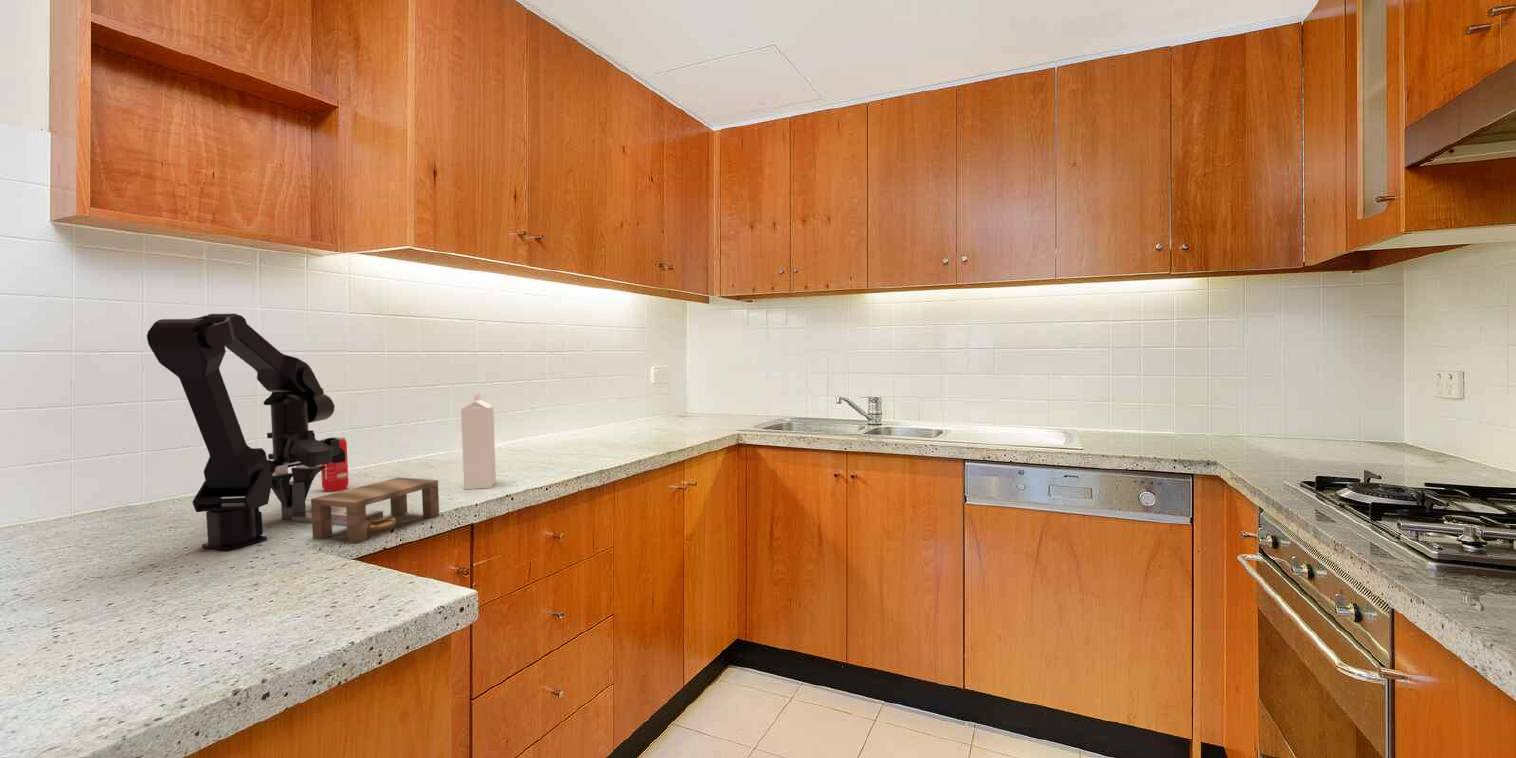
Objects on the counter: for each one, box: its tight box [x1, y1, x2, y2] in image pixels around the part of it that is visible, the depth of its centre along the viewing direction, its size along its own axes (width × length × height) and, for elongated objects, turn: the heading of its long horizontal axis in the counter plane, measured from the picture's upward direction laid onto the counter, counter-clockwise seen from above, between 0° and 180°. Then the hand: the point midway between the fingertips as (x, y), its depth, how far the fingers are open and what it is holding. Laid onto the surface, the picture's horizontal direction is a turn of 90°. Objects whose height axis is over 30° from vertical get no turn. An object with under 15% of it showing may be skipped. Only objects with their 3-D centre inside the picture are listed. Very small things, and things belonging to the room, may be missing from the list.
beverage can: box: [320, 437, 349, 493], centre depth 148 cm, size 5×5×12 cm
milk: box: [460, 393, 497, 490], centre depth 149 cm, size 6×6×22 cm
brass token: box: [366, 515, 396, 531], centre depth 117 cm, size 5×5×2 cm
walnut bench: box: [310, 477, 440, 544], centre depth 117 cm, size 18×10×7 cm, turn 163°
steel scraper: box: [280, 480, 384, 527], centre depth 121 cm, size 6×20×7 cm, turn 73°
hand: (294, 505), depth 123 cm, fingers closed on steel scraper, 2 cm apart
